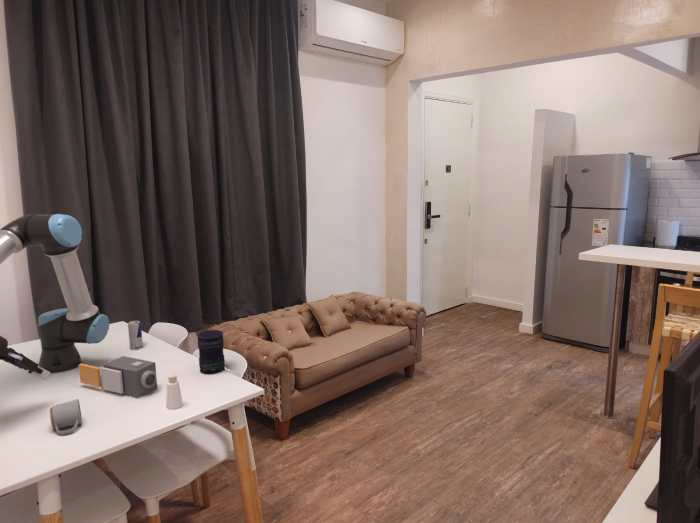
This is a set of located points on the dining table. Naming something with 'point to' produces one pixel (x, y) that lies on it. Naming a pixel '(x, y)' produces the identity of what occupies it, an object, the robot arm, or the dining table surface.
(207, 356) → the storage jar
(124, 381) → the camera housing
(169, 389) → the pepper shaker
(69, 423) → the ceramic mug
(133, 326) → the energy drink
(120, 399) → the dining table surface
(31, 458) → the dining table surface
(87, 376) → the side door
